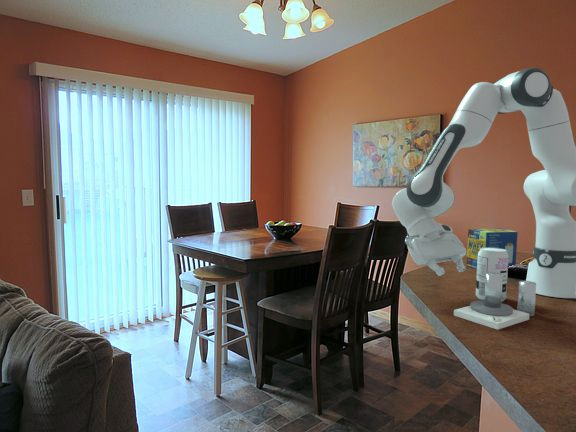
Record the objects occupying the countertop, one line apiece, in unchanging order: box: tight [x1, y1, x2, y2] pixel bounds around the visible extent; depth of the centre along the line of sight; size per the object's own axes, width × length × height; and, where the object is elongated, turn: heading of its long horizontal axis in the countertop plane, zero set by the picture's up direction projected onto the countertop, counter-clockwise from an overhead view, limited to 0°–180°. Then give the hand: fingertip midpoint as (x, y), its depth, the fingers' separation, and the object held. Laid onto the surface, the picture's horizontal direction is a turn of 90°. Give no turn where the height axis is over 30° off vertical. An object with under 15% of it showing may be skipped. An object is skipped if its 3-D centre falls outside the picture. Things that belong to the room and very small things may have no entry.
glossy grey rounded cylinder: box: [483, 272, 503, 308], centre depth 109 cm, size 4×4×8 cm
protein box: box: [466, 227, 519, 270], centre depth 168 cm, size 10×15×16 cm
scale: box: [453, 300, 530, 331], centre depth 108 cm, size 14×12×2 cm
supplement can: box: [475, 248, 509, 303], centre depth 124 cm, size 8×8×15 cm
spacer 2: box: [516, 280, 537, 317], centre depth 111 cm, size 4×4×8 cm
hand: (452, 272), depth 119 cm, fingers open, 8 cm apart
